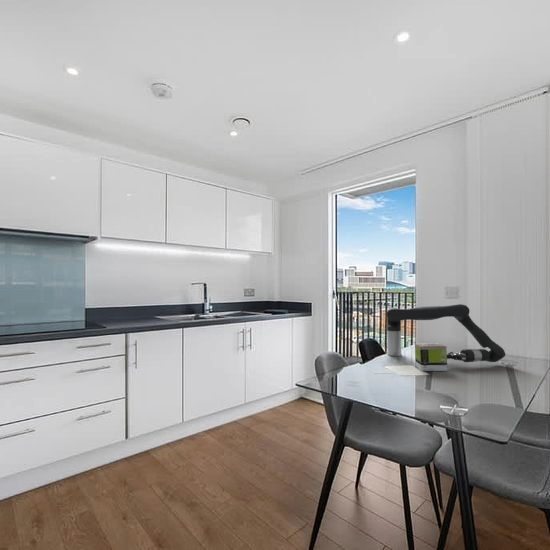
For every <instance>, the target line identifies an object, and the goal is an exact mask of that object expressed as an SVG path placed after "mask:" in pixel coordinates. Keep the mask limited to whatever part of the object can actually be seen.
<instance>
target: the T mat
mask: <svg viewBox="0 0 550 550" xmlns="http://www.w3.org/2000/svg"><path fill="white" fill-rule="evenodd" d="M384 369H385V370H388V369H390V370H393V371H398V372H401V373H404V374H406V375H412V376H415V375H416V376H429V375H430V373H427V372H426V371H421V370H419V369H418V368H417V367H416V366H414V365H411V364H410V365H409V364H408V365H393V366H392V365H391V366H386V365H385V366H384ZM416 376H415V377H416Z"/></svg>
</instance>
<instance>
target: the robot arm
mask: <svg viewBox="0 0 550 550" xmlns="http://www.w3.org/2000/svg"><path fill="white" fill-rule="evenodd" d="M470 312H471V311H470V308H469V307H468V306H467V305H465V304H463V303H462V304H460V303H459V304H452V305H443V306H442V305H438V306H437V305H436V306H432V305H431V306H417V307H412V308H397V307H390V308H389V309H388V310H387V312H386V321H387V323H386V333H387V334H386V339H387V341H386V342H387V343H386V344H387V346H386V347H387V349H386V350H387V355H388V356H391V357H400V356H402V321H408V320H409V321H432V320H433V321H434V320H438V319H442V318H445V317H446V318H447V317H450V318H451V317H453V318H455V319H456V320H457V322H459V323H460V324H461V325H462V326H463V327H464V328H465V329H466V330H467V331H468V332H469V333H470V334H471V336H472V337H474V339H475V340H476V342H477V343H478V344H479V345H480V346H481V347H482V348H479V349H477V348H469V349H467V348H466V349H461V350H460V352H459V351H457V352H453V351H450V352H448V353H447V360H449V359H451V360H454V361H463V363H476V362H489V363H496V362H499V361H500V360H502V359H504V358H505V356H506V351H505V349H504V348H503V347H502V346H500V345H499V344H498V343H496V341H494V340H492V339H491V338H490V337H489V335H488V334H487V333H486V332H485V331H484V330H483V329H482V328H481V327H479V326H478V325H477V324H476V323H475V322H474V320H472V318H471V316H470V315H469V314H470ZM486 348H488V349H489V350H487V349H486Z"/></svg>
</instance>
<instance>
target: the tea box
mask: <svg viewBox="0 0 550 550" xmlns="http://www.w3.org/2000/svg"><path fill="white" fill-rule="evenodd" d="M414 350H415V351H414V354H415V357H414V358H415V367H416V368H418V369H419V370H421V371H424V372H448V359H447V355H448V353H447V346H446V345H445V344H442V343H440V342H436V343H435V342H430V343H429V342H425V343H424V342H422V343H419V342H418V343H414Z"/></svg>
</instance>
